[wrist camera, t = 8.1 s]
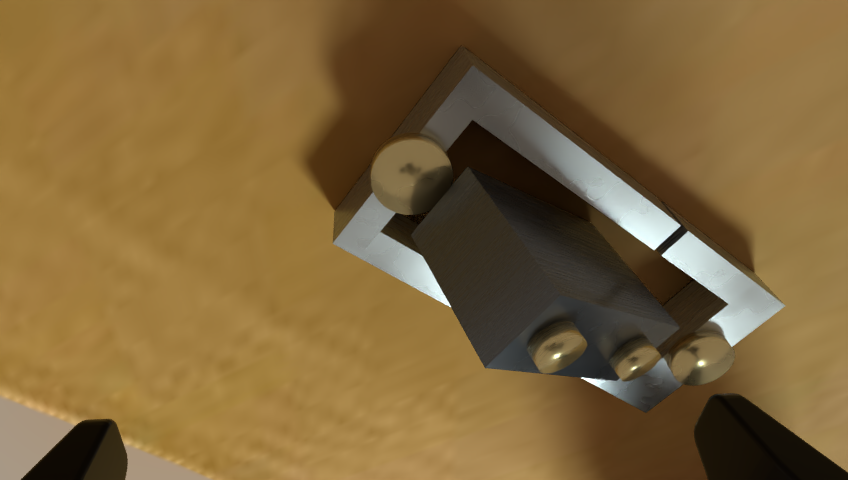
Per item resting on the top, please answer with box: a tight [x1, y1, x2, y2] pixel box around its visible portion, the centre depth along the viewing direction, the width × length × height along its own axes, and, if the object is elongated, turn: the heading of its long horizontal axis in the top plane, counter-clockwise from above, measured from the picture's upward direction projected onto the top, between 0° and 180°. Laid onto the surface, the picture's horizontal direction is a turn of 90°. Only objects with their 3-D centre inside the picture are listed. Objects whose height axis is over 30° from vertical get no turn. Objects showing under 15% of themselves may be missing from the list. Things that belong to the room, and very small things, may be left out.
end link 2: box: [583, 202, 785, 413], centre depth 23 cm, size 6×7×3 cm
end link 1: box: [333, 45, 681, 307], centre depth 20 cm, size 10×7×3 cm
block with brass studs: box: [411, 167, 680, 382], centre depth 18 cm, size 7×3×6 cm, turn 53°
